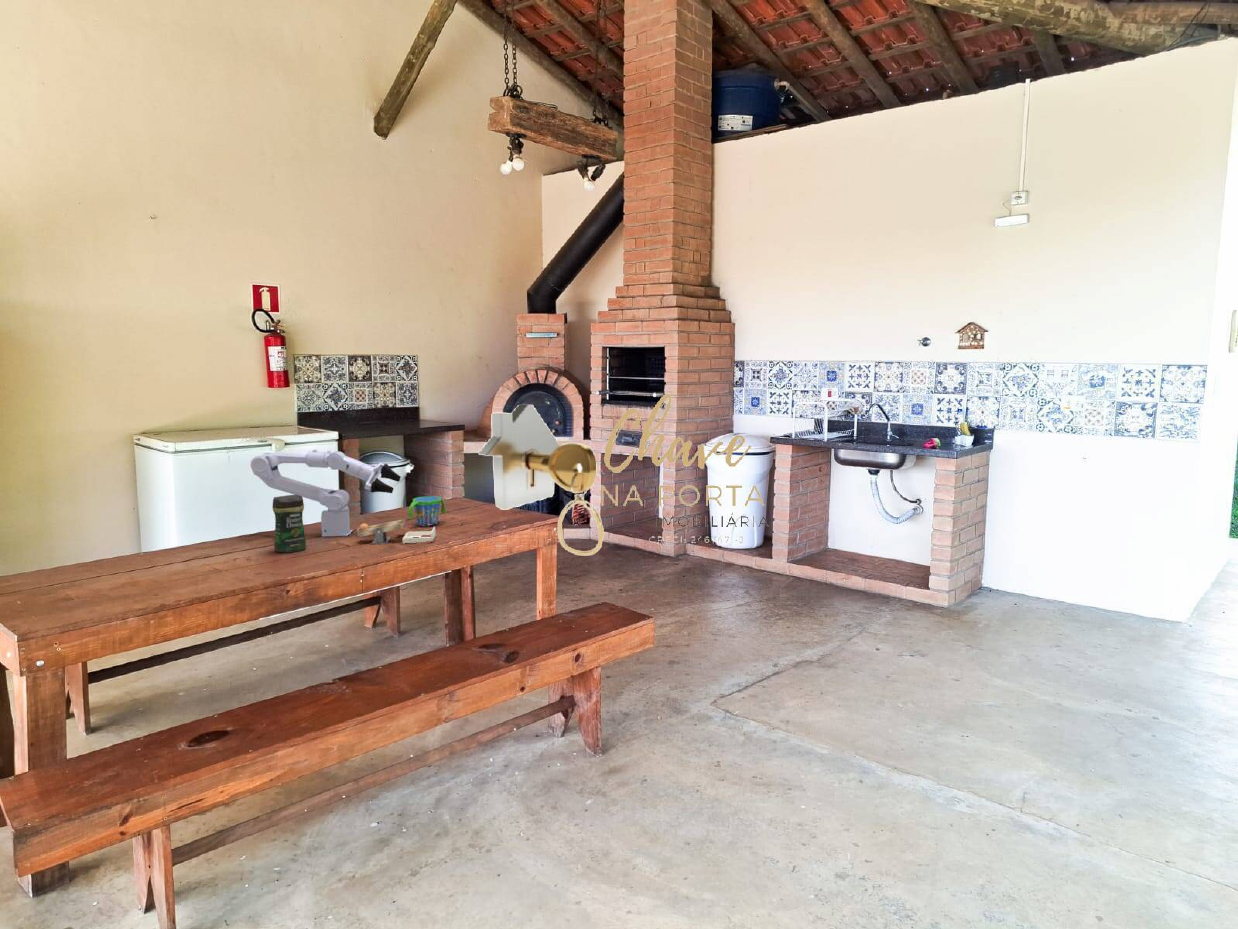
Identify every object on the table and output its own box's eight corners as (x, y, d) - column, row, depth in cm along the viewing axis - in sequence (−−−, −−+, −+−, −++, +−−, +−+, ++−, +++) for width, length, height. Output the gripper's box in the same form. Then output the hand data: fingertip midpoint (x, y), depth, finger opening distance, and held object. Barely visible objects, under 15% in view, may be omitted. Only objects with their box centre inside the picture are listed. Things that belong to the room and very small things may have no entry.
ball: (359, 533, 278) (358, 525, 278) (361, 531, 281) (359, 523, 281) (368, 532, 279) (366, 523, 278) (370, 530, 281) (368, 521, 281)
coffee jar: (280, 554, 263) (277, 499, 260) (271, 550, 269) (268, 495, 266) (310, 549, 269) (306, 495, 267) (300, 545, 275) (297, 492, 272)
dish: (402, 543, 277) (402, 534, 276) (406, 537, 287) (406, 527, 286) (432, 543, 278) (431, 533, 278) (435, 536, 288) (435, 526, 287)
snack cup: (438, 519, 316) (437, 494, 315) (452, 523, 309) (452, 497, 307) (402, 525, 305) (401, 499, 304) (416, 530, 298) (415, 503, 296)
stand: (371, 544, 276) (371, 530, 276) (376, 538, 285) (375, 524, 284) (386, 543, 277) (386, 529, 276) (390, 538, 286) (390, 524, 285)
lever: (357, 537, 277) (356, 530, 277) (365, 529, 290) (363, 522, 289) (401, 528, 278) (400, 522, 278) (406, 520, 291) (405, 514, 291)
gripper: (355, 472, 281) (392, 488, 283) (370, 451, 293) (405, 466, 295) (351, 487, 285) (387, 502, 287) (366, 465, 297) (400, 480, 299)
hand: (396, 485), depth 291 cm, fingers open, 7 cm apart
